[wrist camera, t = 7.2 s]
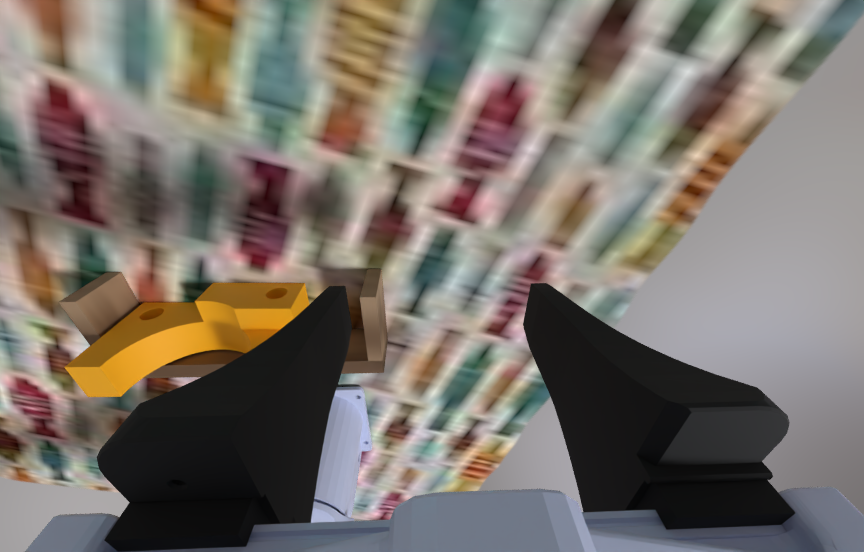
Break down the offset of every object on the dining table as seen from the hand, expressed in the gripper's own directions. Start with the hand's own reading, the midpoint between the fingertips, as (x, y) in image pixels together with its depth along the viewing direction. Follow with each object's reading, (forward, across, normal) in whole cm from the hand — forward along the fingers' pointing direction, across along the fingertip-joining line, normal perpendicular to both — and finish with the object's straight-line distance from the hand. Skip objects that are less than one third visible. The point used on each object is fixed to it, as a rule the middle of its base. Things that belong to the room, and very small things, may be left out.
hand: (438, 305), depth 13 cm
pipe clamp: (+10, +15, +7) cm, 20 cm away
